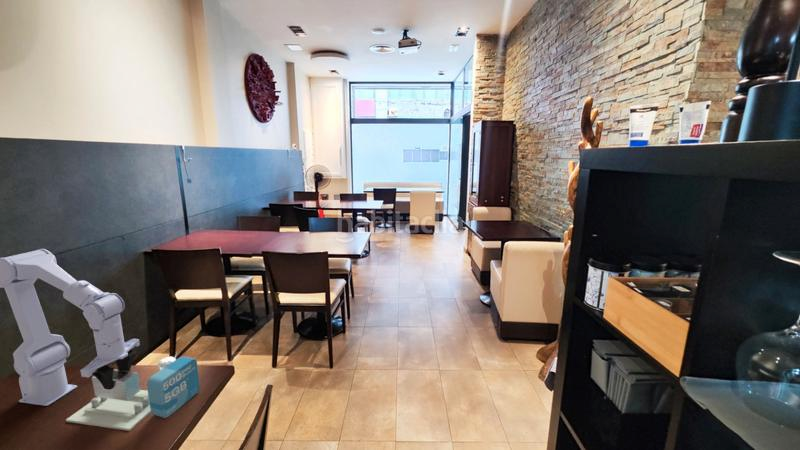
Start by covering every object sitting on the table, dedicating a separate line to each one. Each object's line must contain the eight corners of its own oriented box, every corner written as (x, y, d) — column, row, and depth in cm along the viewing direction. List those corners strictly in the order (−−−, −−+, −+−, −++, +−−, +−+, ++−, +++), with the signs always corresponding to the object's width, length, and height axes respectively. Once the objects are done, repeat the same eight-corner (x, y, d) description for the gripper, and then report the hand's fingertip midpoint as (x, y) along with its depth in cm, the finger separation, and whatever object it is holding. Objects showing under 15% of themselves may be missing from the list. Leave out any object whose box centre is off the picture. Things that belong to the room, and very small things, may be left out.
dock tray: (66, 421, 86) (64, 412, 86) (113, 387, 99) (112, 379, 98) (129, 430, 84) (128, 421, 84) (169, 395, 97) (168, 387, 97)
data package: (164, 421, 88) (159, 383, 85) (151, 417, 89) (145, 379, 86) (200, 390, 99) (196, 356, 97) (188, 387, 100) (184, 353, 98)
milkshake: (184, 381, 103) (181, 353, 101) (165, 391, 98) (161, 362, 96) (176, 376, 105) (173, 349, 103) (158, 385, 101) (154, 357, 99)
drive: (95, 396, 89) (91, 377, 88) (109, 386, 93) (106, 367, 92) (127, 400, 88) (124, 381, 87) (140, 390, 92) (137, 371, 91)
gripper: (94, 356, 80) (103, 403, 83) (146, 326, 94) (152, 367, 97) (69, 353, 80) (79, 400, 83) (124, 324, 94) (131, 364, 97)
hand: (116, 382), depth 90 cm, fingers closed on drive, 4 cm apart
